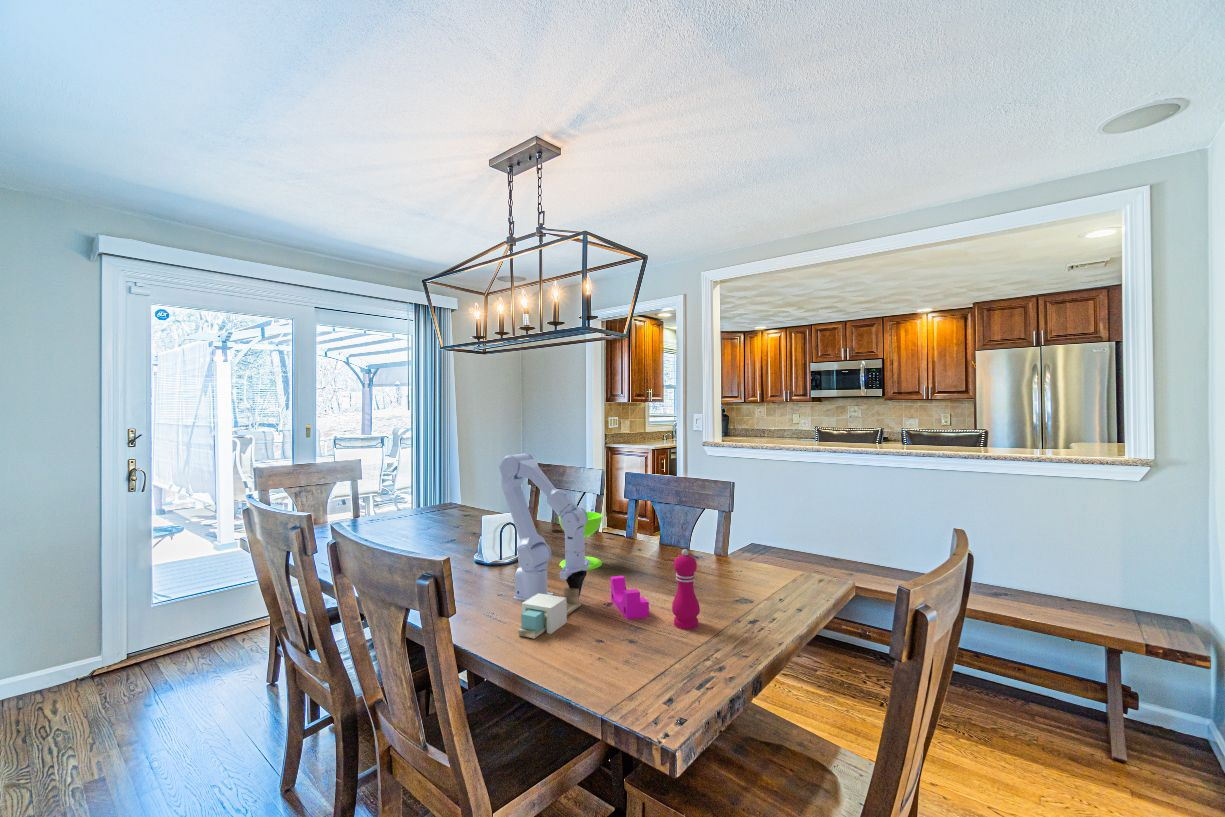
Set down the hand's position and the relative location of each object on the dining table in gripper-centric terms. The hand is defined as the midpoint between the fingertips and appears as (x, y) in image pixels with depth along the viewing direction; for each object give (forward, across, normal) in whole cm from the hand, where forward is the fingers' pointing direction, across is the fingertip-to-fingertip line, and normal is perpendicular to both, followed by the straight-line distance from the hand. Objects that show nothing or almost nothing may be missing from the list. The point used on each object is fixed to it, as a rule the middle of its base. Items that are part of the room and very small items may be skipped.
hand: (575, 596), depth 154 cm
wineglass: (+2, +35, +17) cm, 39 cm away
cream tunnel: (+2, -17, 0) cm, 17 cm away
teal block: (+1, -22, 0) cm, 22 cm away
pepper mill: (+2, -2, -34) cm, 34 cm away
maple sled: (+2, -19, 0) cm, 19 cm away
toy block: (+3, +3, -16) cm, 16 cm away
